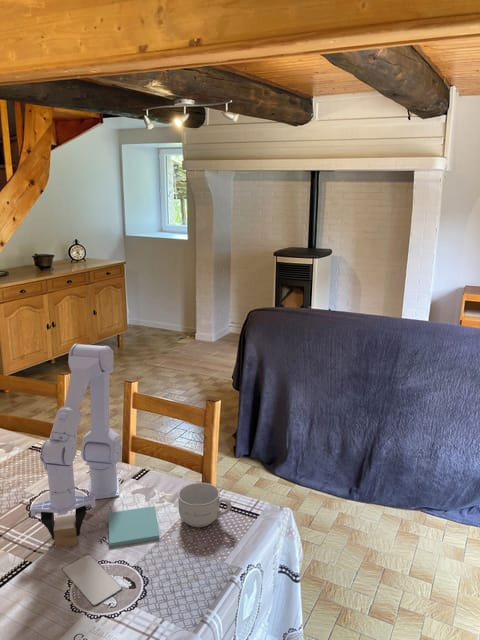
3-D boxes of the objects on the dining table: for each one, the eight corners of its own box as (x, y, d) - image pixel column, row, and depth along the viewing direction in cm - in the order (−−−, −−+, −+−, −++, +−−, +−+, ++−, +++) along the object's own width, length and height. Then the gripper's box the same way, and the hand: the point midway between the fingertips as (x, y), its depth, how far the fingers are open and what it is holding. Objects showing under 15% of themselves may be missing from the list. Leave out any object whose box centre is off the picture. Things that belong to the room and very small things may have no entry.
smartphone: (94, 606, 105) (60, 568, 116) (94, 609, 105) (61, 570, 116) (123, 588, 110) (89, 553, 120) (123, 590, 110) (89, 555, 120)
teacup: (170, 524, 131) (169, 497, 129) (193, 502, 140) (192, 476, 138) (217, 542, 125) (217, 514, 122) (238, 517, 134) (238, 490, 132)
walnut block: (57, 535, 127) (55, 517, 125) (78, 531, 128) (76, 514, 127) (55, 548, 122) (53, 530, 121) (77, 545, 123) (75, 527, 122)
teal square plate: (108, 516, 134) (108, 512, 134) (154, 509, 137) (154, 506, 137) (109, 546, 123) (109, 543, 122) (159, 538, 126) (159, 535, 125)
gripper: (26, 500, 115) (32, 551, 119) (93, 491, 119) (97, 541, 123) (30, 483, 122) (36, 531, 126) (93, 475, 126) (97, 522, 129)
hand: (66, 535), depth 125 cm, fingers closed on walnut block, 5 cm apart
